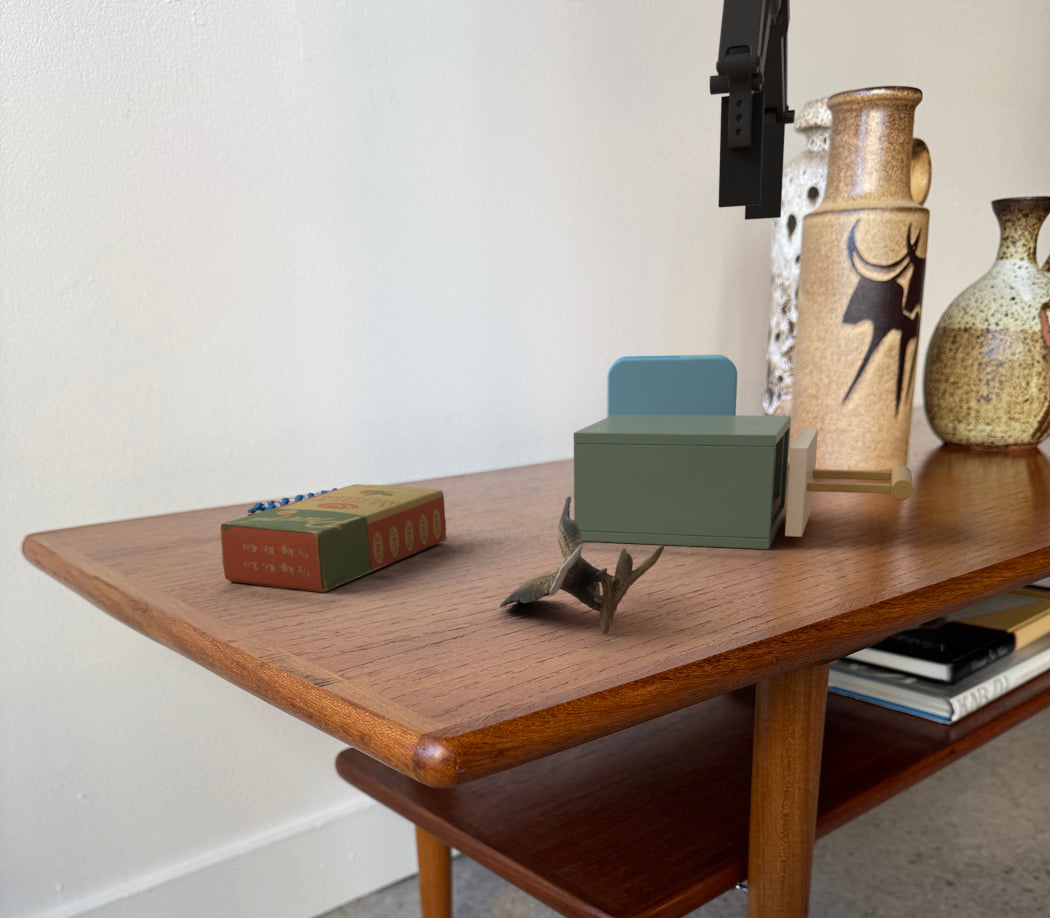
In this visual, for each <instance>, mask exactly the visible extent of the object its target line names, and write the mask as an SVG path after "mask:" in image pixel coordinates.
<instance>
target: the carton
mask: <svg viewBox="0 0 1050 918" xmlns="http://www.w3.org/2000/svg"><path fill="white" fill-rule="evenodd" d="M445 507H446V506H445V495H444V492H443V491H442V489H434V488H425V487H415V486H414V487H413V486H402V485H386V484H385V485H384V484H383V485H382V484H363V483H362V484H361V483H356V484H351V485H347V486H343V487H341V488H337V490H333V491H330V492H327V493H324V494H320V495H317V496H314V497H311V498H307V499H304V500H300V501H297V502H294V503H290V504H287V505H284V506H280V507H276V508H273V509H270V510H266V511H263V512H261V511H259V513H258V512H255V513H256V514H253V513H252V514H253V515H250V516H248V515H247V516H244V517H241V518H240V517H239V518H236V519H232V520H228V521H227V520H226V521H223V522H222V523H220V544H221V562H222V569H223V575H224V578H225V580H227V581H229V582H233V583H241V584H250V585H256V586H257V585H258V586H264V587H273V588H278V589H279V588H280V589H290V590H291V589H293V590H300V591H309V592H319V593H325V592H329V591H330V590H333V589H335V588H337V587H339V586H341V585H343V584H346V583H349V582H351V581H353V580H355V579H357V578H360V577H363V576H366V575H367V574H370V573H372V572H374V571H377V570H380V569H382V568H383V567H386V566H389V565H391V564H393V563H395V562H397V561H400V560H402V559H405V558H407V557H410V556H411V555H414V554H417V553H419V552H421V551H423V550H426V549H429V548H431V547H434V546H436V545H438V544H441V543H442V542H444V541H446V540H448V536H447V526H446V525H447V521H446V508H445Z"/></svg>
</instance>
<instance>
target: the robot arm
mask: <svg viewBox="0 0 1050 918" xmlns="http://www.w3.org/2000/svg"><path fill="white" fill-rule="evenodd" d="M790 3H791V0H723V3H722V4H723V5H722V15H721V23H720V24H721V25H720V34H719V43H718V54H717V61H716V62H715V69H716V73H717V74H715V75H710V76H709V94H710V95H711V96H714V95H723V96H721V98H720V131H719V133H720V134H719V135H720V136H719V167H718V168H719V169H718V172H719V173H718V208H734V207H735V208H736V207H745V208H744V220H745V221H748V220H749V221H751V220H762V219H765V220H767V219H780V218H781V217H782V199H783V181H784V180H783V178H784V159H785V158H784V156H785V137H786V135H785V134H786V125H791V124H795V120H796V119H795V118H796V109H790V105H789V103H788V88H789V87H788V86H789V85H788V83H789V81H788V74H789V73H788V72H789V71H788V70H789V68H788V63H789V62H788V58H789V57H788V54H789V49H788V48H789V45H788V44H789V43H788V42H789V27H790V22H791V10H790V9H791V4H790ZM725 94H728V95H725Z"/></svg>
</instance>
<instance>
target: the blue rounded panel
mask: <svg viewBox="0 0 1050 918" xmlns="http://www.w3.org/2000/svg"><path fill="white" fill-rule="evenodd" d="M606 375H607V376H606V418H608V417H610V416H612V415H736V414H737V395H738V394H737V391H738V370H737V367H736V365H735V363H734V362H733V361H732V360H731V359H730V358H729V357H727V356H726V355H722V354H685V355H683V354H681V355H678V354H677V355H637V356H636V355H633V356H622V357H619V358H617V359H616V360H615V361H614V362H613V363H612V364H611V366H610V367H609V368H608V371H607V374H606Z"/></svg>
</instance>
